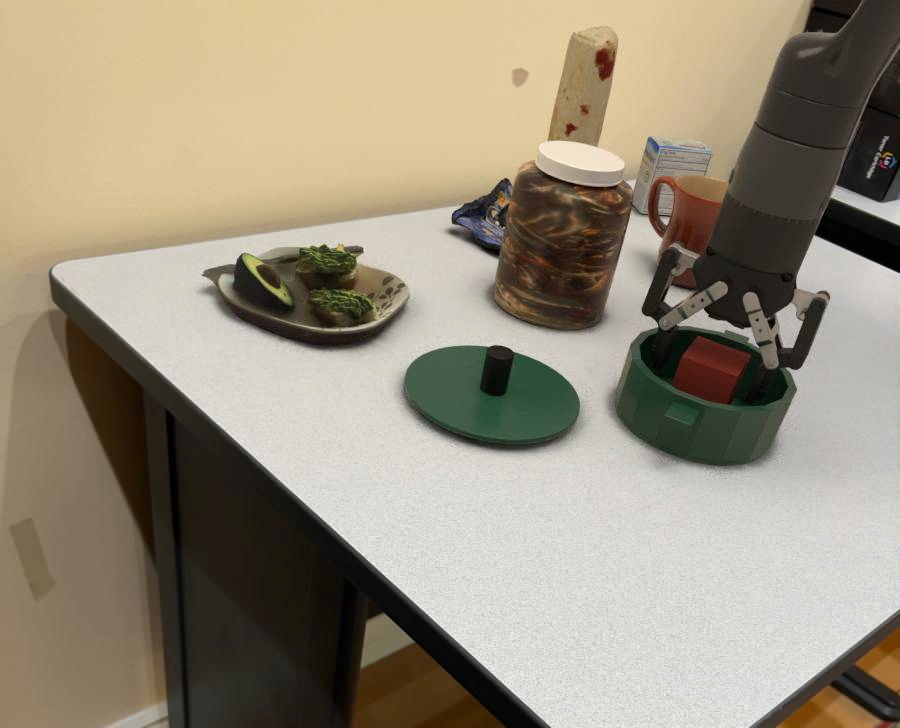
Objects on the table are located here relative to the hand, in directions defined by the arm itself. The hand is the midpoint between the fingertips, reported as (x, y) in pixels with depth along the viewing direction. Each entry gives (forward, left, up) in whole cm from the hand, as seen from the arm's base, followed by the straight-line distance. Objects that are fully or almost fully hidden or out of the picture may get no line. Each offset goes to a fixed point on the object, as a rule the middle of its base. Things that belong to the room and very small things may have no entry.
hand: (703, 383), depth 79 cm
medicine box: (+20, -52, -4) cm, 56 cm away
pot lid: (+16, +10, -3) cm, 19 cm away
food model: (+32, -44, -4) cm, 54 cm away
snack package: (+32, -25, -4) cm, 41 cm away
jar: (+20, -12, -4) cm, 23 cm away
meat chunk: (0, 0, -3) cm, 3 cm away
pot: (0, 0, -4) cm, 4 cm away
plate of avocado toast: (+38, +6, -4) cm, 38 cm away
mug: (+12, -32, -4) cm, 34 cm away
